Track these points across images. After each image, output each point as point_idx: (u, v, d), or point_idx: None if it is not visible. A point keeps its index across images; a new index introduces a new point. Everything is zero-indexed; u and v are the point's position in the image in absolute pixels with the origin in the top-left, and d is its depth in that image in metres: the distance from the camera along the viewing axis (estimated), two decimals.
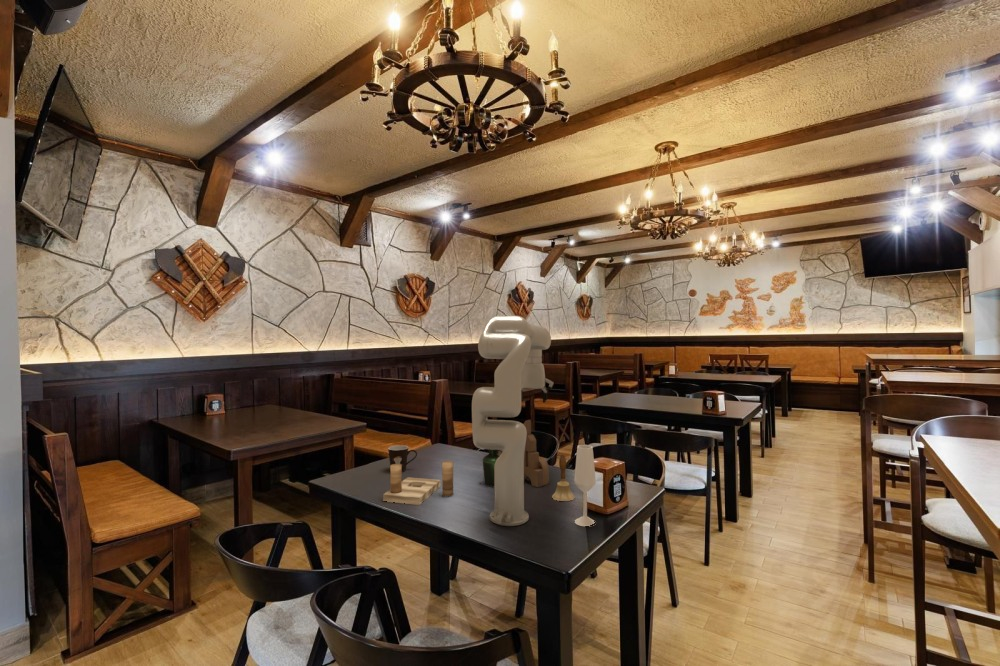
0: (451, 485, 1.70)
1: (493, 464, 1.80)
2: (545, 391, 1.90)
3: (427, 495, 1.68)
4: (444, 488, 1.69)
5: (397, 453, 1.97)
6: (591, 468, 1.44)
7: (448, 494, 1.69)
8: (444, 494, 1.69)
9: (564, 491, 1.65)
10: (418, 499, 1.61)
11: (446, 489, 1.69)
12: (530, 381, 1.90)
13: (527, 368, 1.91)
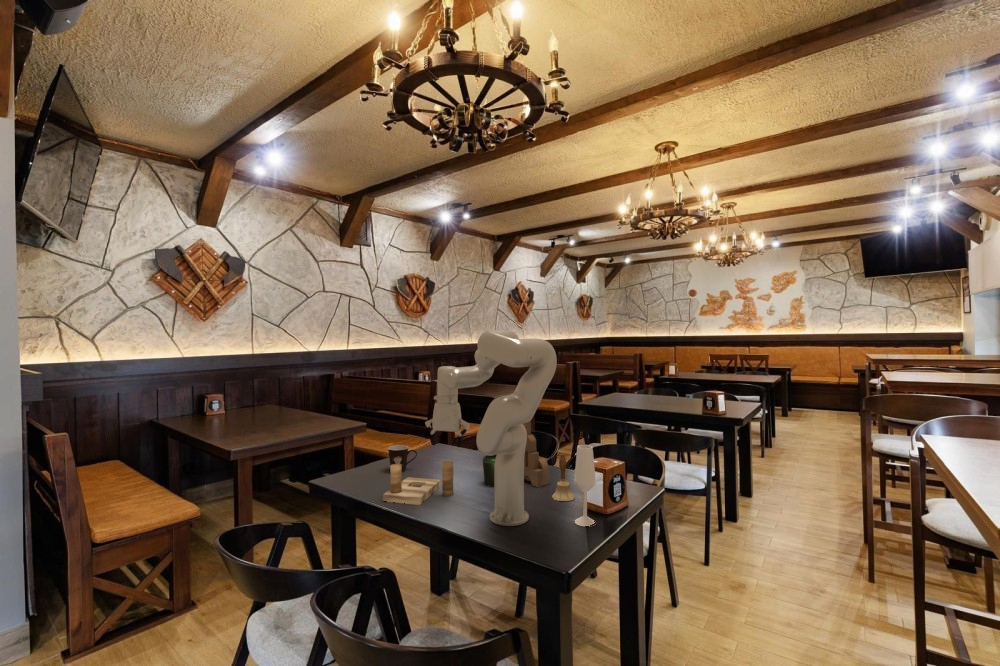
0: (451, 485, 1.70)
1: (493, 464, 1.80)
2: (460, 434, 1.69)
3: (427, 495, 1.68)
4: (444, 488, 1.69)
5: (397, 453, 1.97)
6: (591, 468, 1.44)
7: (448, 494, 1.69)
8: (444, 494, 1.69)
9: (564, 491, 1.65)
10: (418, 499, 1.61)
11: (446, 489, 1.69)
12: (443, 423, 1.69)
13: (440, 408, 1.69)
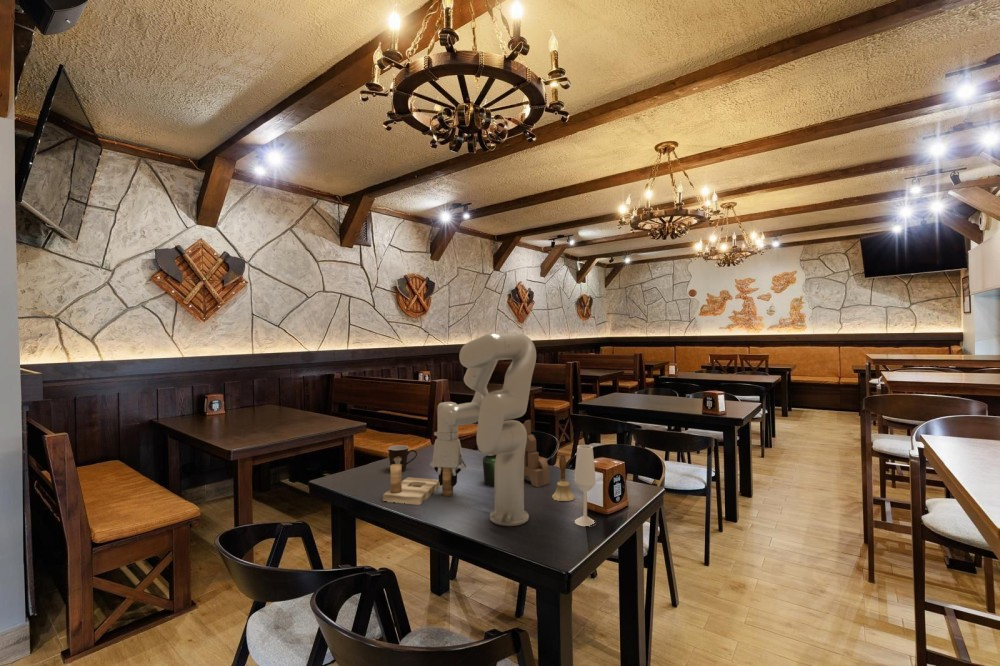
0: None
1: (493, 464, 1.80)
2: (454, 474, 1.69)
3: (427, 495, 1.68)
4: (444, 488, 1.69)
5: (397, 453, 1.97)
6: (591, 468, 1.44)
7: (448, 494, 1.69)
8: (444, 494, 1.69)
9: (564, 491, 1.65)
10: (418, 499, 1.61)
11: (447, 489, 1.69)
12: (443, 460, 1.69)
13: (440, 445, 1.69)
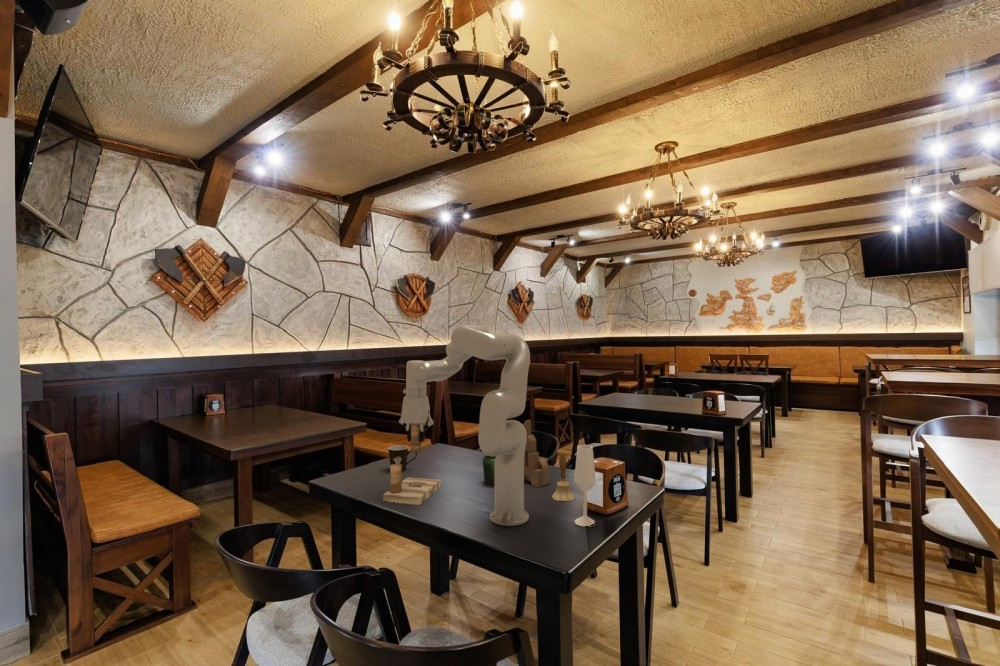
0: None
1: (493, 464, 1.80)
2: (422, 429, 1.73)
3: (427, 495, 1.68)
4: (412, 443, 1.74)
5: (397, 453, 1.97)
6: (591, 468, 1.44)
7: (416, 449, 1.73)
8: (412, 449, 1.74)
9: (564, 491, 1.65)
10: (418, 499, 1.61)
11: (414, 444, 1.73)
12: (411, 416, 1.73)
13: (408, 401, 1.73)
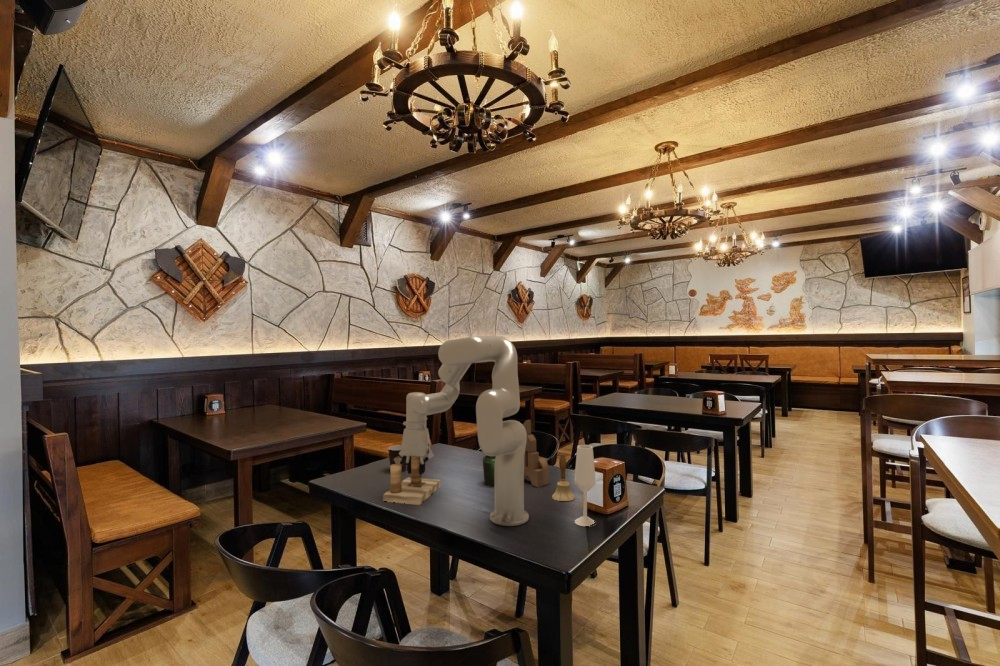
0: None
1: (493, 464, 1.80)
2: (422, 462, 1.73)
3: (427, 495, 1.68)
4: (412, 476, 1.74)
5: (397, 453, 1.97)
6: (591, 468, 1.44)
7: (416, 482, 1.73)
8: (412, 482, 1.74)
9: (564, 491, 1.65)
10: (418, 499, 1.61)
11: (415, 477, 1.73)
12: (411, 448, 1.73)
13: (408, 434, 1.73)
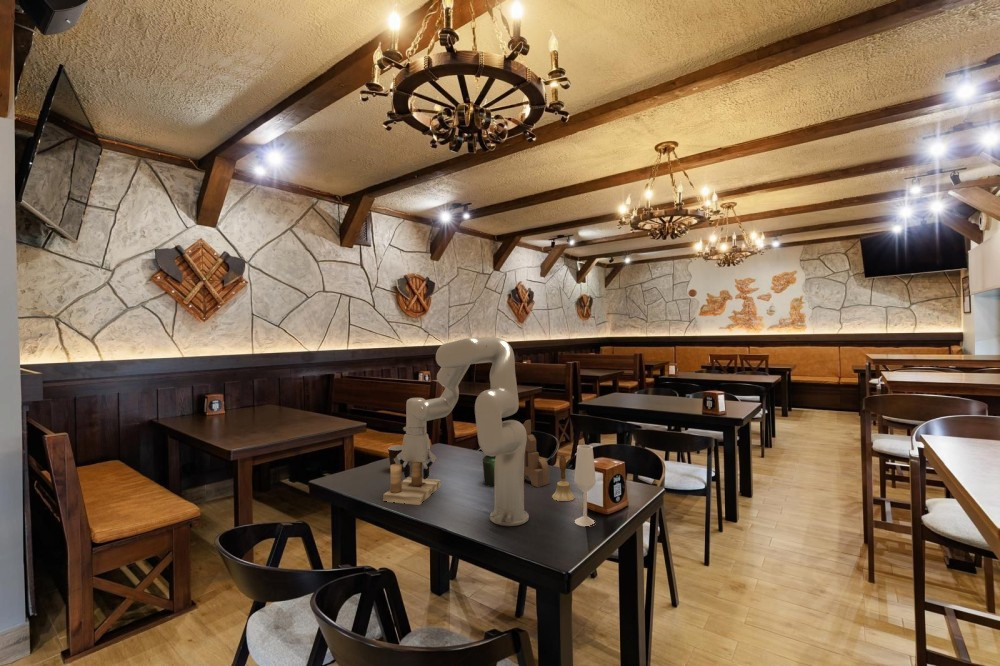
0: (419, 481, 1.74)
1: (493, 464, 1.80)
2: (426, 467, 1.73)
3: (427, 495, 1.68)
4: (413, 484, 1.74)
5: (397, 453, 1.97)
6: (591, 468, 1.44)
7: None
8: None
9: (564, 491, 1.65)
10: (418, 499, 1.61)
11: (415, 485, 1.73)
12: (412, 454, 1.73)
13: (409, 440, 1.73)
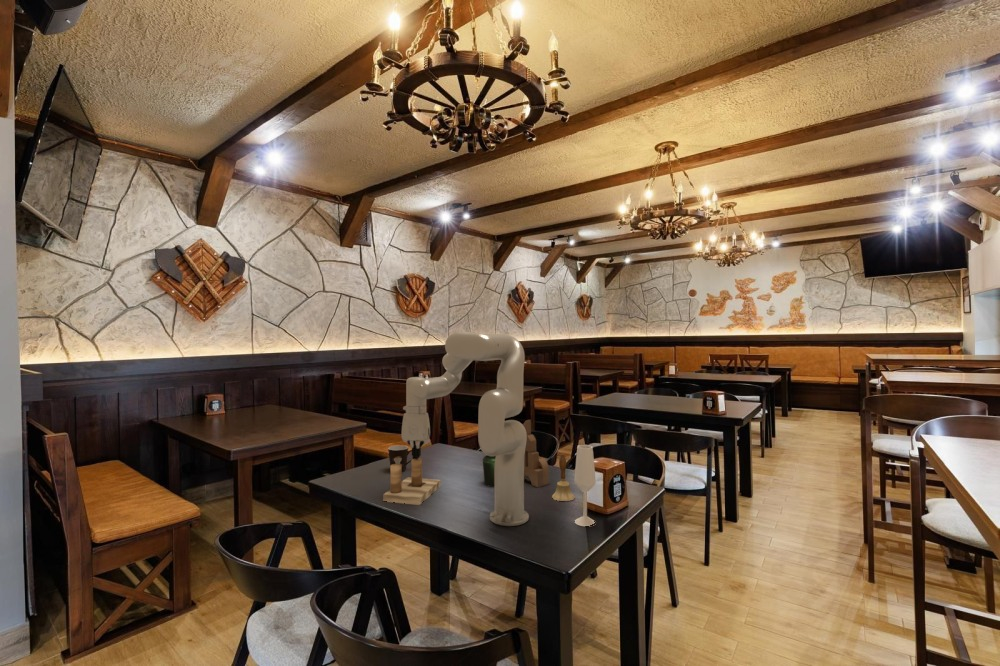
0: (419, 481, 1.74)
1: (493, 464, 1.80)
2: (417, 446, 1.74)
3: (427, 495, 1.68)
4: (413, 484, 1.74)
5: (397, 453, 1.97)
6: (591, 468, 1.44)
7: None
8: None
9: (564, 491, 1.65)
10: (418, 499, 1.61)
11: (415, 485, 1.73)
12: (411, 433, 1.73)
13: (408, 418, 1.73)
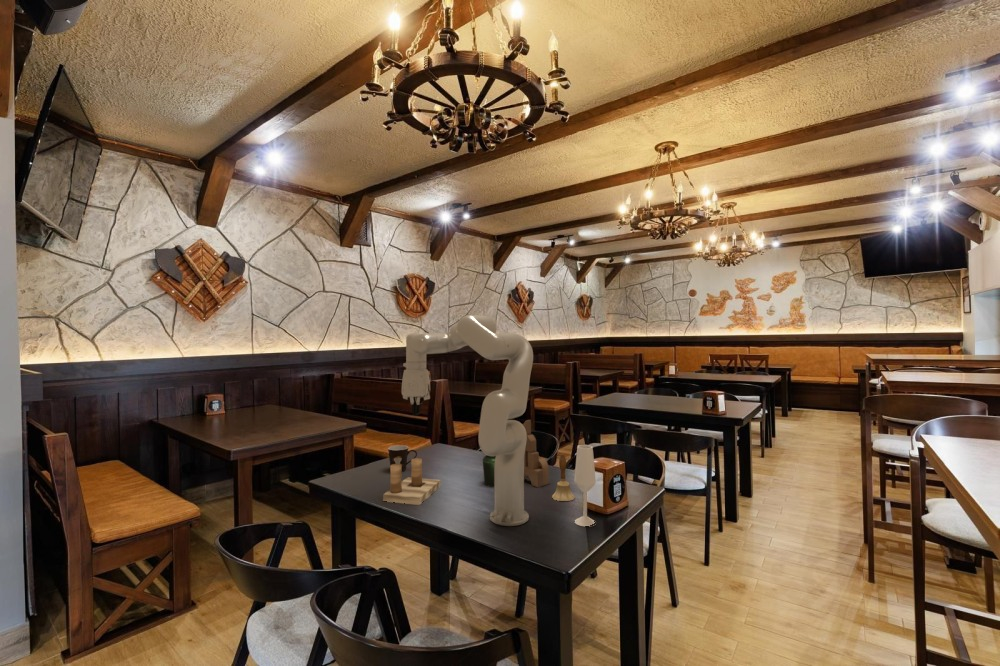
0: (419, 481, 1.74)
1: (493, 464, 1.80)
2: (417, 402, 1.74)
3: (427, 495, 1.68)
4: (413, 484, 1.74)
5: (397, 453, 1.97)
6: (591, 468, 1.44)
7: None
8: None
9: (564, 491, 1.65)
10: (418, 499, 1.61)
11: (415, 485, 1.73)
12: (412, 389, 1.73)
13: (408, 374, 1.73)
